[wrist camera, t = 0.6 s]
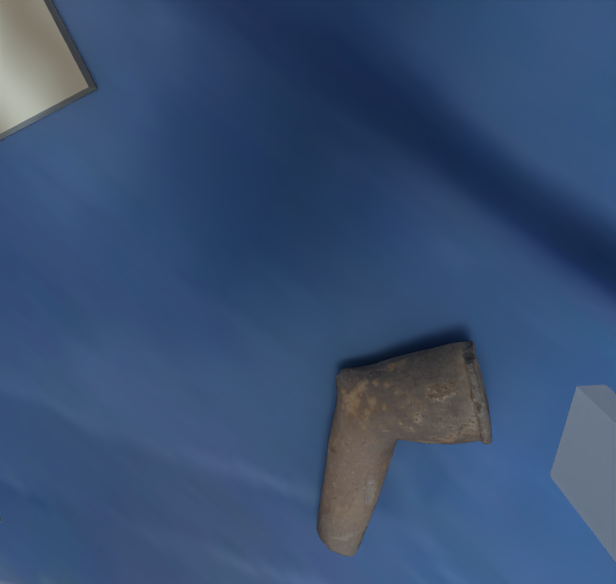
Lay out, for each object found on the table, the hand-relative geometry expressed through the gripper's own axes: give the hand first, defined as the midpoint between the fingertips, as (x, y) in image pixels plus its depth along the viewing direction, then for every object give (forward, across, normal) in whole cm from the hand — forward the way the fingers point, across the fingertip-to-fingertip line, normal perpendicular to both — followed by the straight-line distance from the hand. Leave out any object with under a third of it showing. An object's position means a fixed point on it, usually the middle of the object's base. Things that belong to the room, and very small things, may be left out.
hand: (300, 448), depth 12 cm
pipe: (+20, +10, -16) cm, 27 cm away
